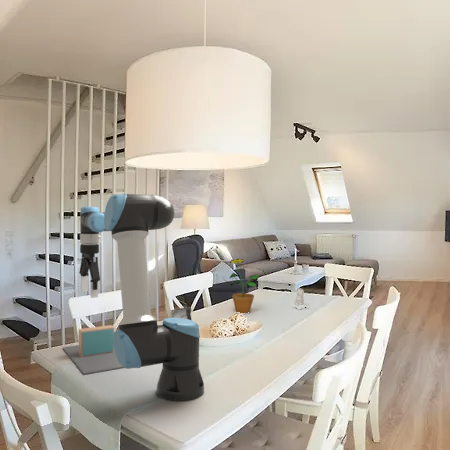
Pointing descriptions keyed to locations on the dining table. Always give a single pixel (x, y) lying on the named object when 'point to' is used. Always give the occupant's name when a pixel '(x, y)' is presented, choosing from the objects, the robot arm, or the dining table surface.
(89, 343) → the tan and teal block
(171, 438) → the dining table surface
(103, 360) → the mat
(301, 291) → the seated beast figurine
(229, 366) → the dining table surface
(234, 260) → the potted plant
